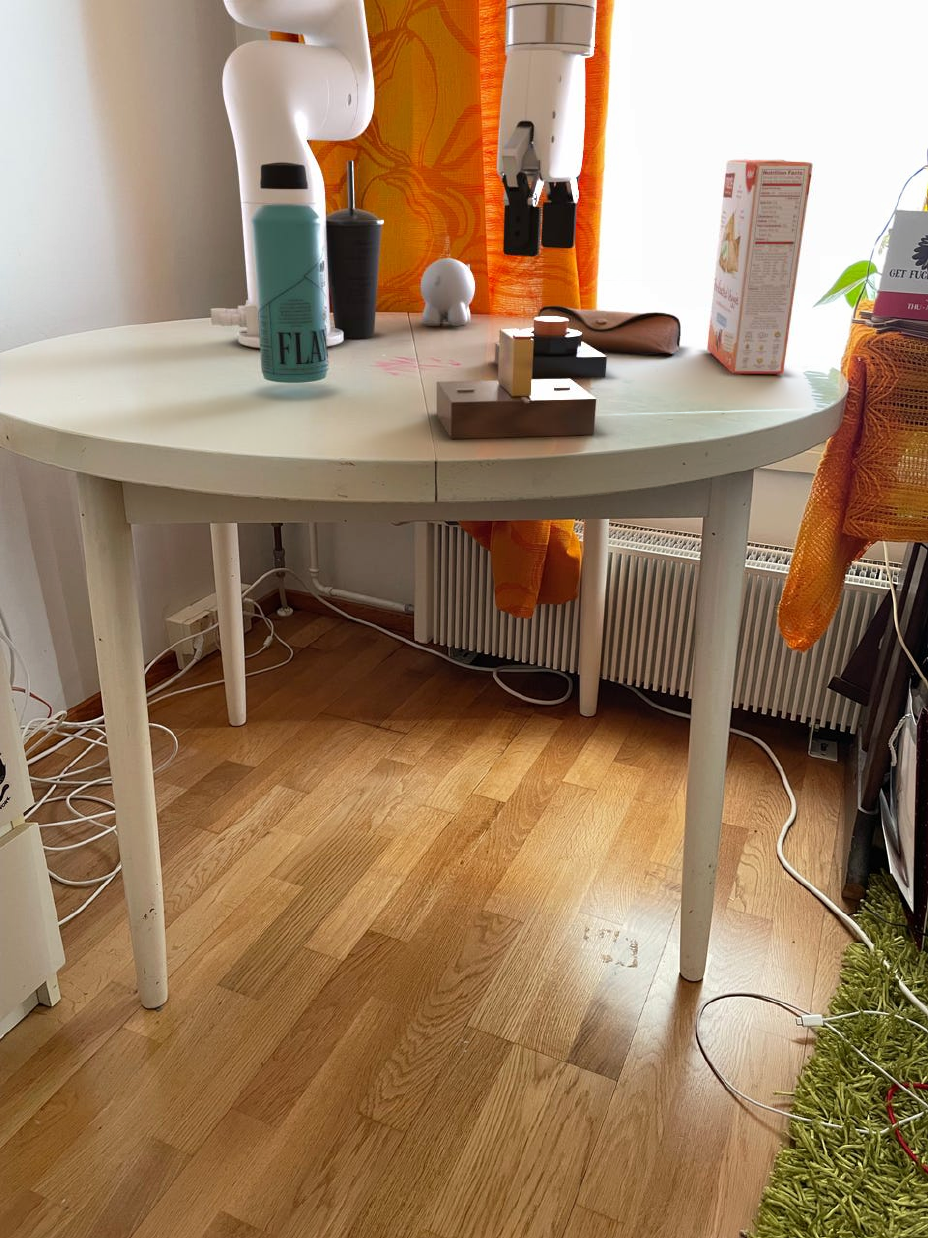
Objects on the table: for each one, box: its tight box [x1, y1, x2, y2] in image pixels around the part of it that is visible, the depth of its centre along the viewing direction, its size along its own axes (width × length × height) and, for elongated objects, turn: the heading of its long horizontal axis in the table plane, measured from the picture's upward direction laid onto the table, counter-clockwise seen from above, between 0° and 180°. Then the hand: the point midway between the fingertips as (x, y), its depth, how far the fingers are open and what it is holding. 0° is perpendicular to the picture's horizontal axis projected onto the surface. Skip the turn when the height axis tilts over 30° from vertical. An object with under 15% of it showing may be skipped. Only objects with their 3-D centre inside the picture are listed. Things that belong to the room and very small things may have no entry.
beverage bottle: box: [251, 162, 330, 384], centre depth 91 cm, size 6×7×20 cm
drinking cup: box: [326, 160, 385, 340], centre depth 120 cm, size 8×8×20 cm
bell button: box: [533, 316, 568, 336], centre depth 104 cm, size 4×4×2 cm
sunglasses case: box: [537, 305, 682, 355], centre depth 119 cm, size 18×7×7 cm
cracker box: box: [706, 158, 813, 375], centre depth 107 cm, size 14×6×21 cm, turn 178°
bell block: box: [494, 327, 608, 380], centre depth 105 cm, size 10×9×4 cm
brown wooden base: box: [436, 378, 597, 440], centre depth 84 cm, size 12×10×3 cm
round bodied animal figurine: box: [420, 257, 476, 327], centre depth 134 cm, size 7×12×8 cm, turn 165°
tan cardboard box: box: [497, 328, 534, 396], centre depth 82 cm, size 6×2×5 cm, turn 11°
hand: (540, 251), depth 91 cm, fingers open, 9 cm apart
